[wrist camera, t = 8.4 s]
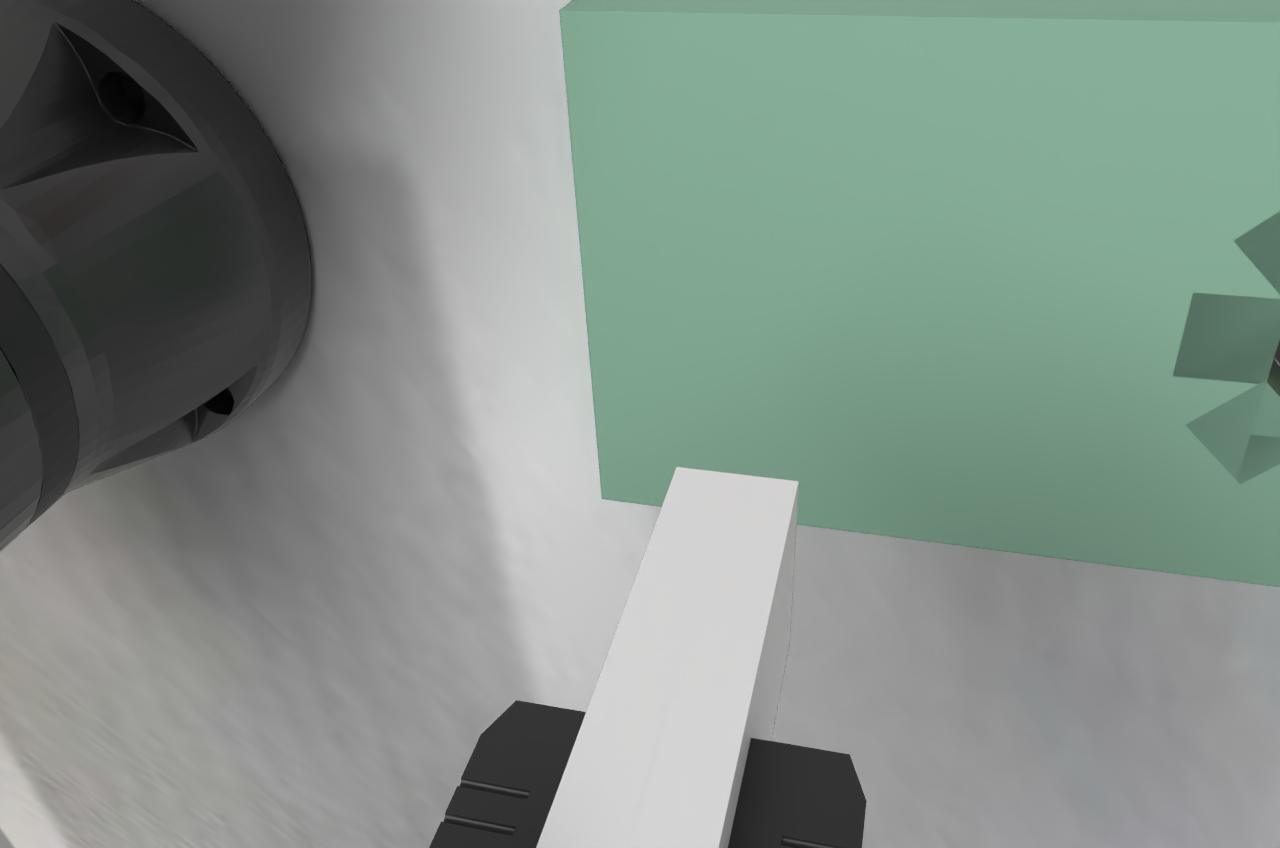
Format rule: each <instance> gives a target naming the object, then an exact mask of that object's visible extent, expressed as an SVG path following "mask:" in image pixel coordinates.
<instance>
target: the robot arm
mask: <svg viewBox="0 0 1280 848" xmlns="http://www.w3.org/2000/svg"><path fill="white" fill-rule="evenodd" d="M311 286H312V276H311V260H310V252H309V245H308V240H307V235H306V230H305V226H304V222H303V219H302V215H301V211H300V208H299V205H298V202H297V199H296V196H295V194H294V191H293V189H292V186H291V184H290V181H289V179H288V176H287V174H286V172H285V170H284V168H283V166H282V164H281V161H280V159H279V157H278V155H277V154H276V152H275V150H274V148H273V146H272V145H271V143H270V141H269V139H268V137H267V136H266V134H265V133H264V131H263V129H262V128H261V126H260V125H259V123H258V121H257V120H256V118H255V117H254V116H253V114H252V113H251V111H250V110H249V108H248V107H247V106H246V104H245V103H244V102H243V100H242V99H241V98H240V96H239V95H238V94H237V93H236V91H235V90H234V89H233V88H232V86H231V85H230V84H229V83H228V82H227V81H226V79H225V78H224V77H223V76H222V75H221V74H220V73H219V71H218V70H217V69H216V68H215V67H214V66H213V65H212V64H211V63H210V62H209V61H208V60H207V59H206V58H205V57H204V56H203V55H202V54H201V53H200V52H199V51H198V50H197V49H196V48H195V47H194V46H193V45H191V44H190V43H189V42H188V41H187V40H186V39H185V38H184V37H182V36H181V35H180V34H179V33H178V32H176V31H175V30H174V29H173V28H172V27H170V26H169V25H168V24H166V23H165V22H164V21H162V20H161V19H160V18H158V17H157V16H156V15H154V14H153V13H151V12H150V11H148V10H147V9H145V8H144V7H142V6H141V5H139V4H138V3H136V2H134V1H133V0H0V552H1V551H2V550H3V549H4V548H5V547H6V546H7V545H8V544H10V543H11V542H12V541H13V540H14V539H15V538H16V537H17V536H18V535H19V534H20V533H21V532H22V531H23V530H24V529H26V528H27V527H28V526H29V525H30V524H31V523H32V522H34V521H35V520H36V519H37V518H38V517H39V516H40V515H42V514H43V513H44V512H45V511H46V510H47V509H48V508H50V507H51V506H52V505H53V504H54V503H55V502H56V501H57V500H59V499H60V498H61V497H62V496H64V495H65V494H66V493H68V492H70V491H72V490H74V489H77V488H79V487H82V486H84V485H87V484H90V483H92V482H95V481H97V480H100V479H102V478H105V477H107V476H110V475H112V474H115V473H117V472H120V471H122V470H125V469H127V468H130V467H133V466H135V465H138V464H140V463H143V462H145V461H148V460H150V459H153V458H155V457H158V456H160V455H163V454H165V453H168V452H170V451H173V450H176V449H178V448H181V447H183V446H186V445H188V444H191V443H193V442H196V441H198V440H200V439H203V438H205V437H207V436H209V435H211V434H213V433H215V432H216V431H218V430H220V429H221V428H223V427H224V426H226V425H227V424H229V423H230V422H232V421H233V420H234V419H236V418H237V417H238V416H239V415H241V414H242V413H243V412H244V411H245V410H246V409H247V408H248V407H249V406H250V405H251V404H252V403H253V402H254V401H255V400H256V399H257V398H258V397H259V396H260V395H261V394H262V393H263V392H264V391H265V390H267V389H268V388H269V387H270V386H271V385H272V384H273V383H274V382H275V381H276V380H277V379H278V377H279V376H280V375H281V374H282V373H283V372H284V371H285V369H286V368H287V366H288V365H289V363H290V362H291V360H292V359H293V357H294V355H295V353H296V351H297V349H298V347H299V345H300V342H301V340H302V337H303V334H304V331H305V328H306V324H307V320H308V315H309V310H310V302H311ZM798 482H799V481H792V480H783V479H775V478H766V477H758V476H749V475H741V474H733V473H724V472H716V471H707V470H699V469H690V468H682V467H676V470H675V473H674V475H673V478H672V481H671V484H670V486H669V489H668V492H667V494H666V497H665V500H664V503H663V505H662V508H661V511H660V513H659V516H658V519H657V521H656V524H655V527H654V530H653V532H652V535H651V538H650V540H649V543H648V546H647V549H646V551H645V554H644V557H643V559H642V562H641V565H640V568H639V570H638V573H637V576H636V578H635V581H634V584H633V587H632V589H631V592H630V595H629V597H628V600H627V603H626V606H625V608H624V611H623V614H622V616H621V619H620V622H619V625H618V627H617V630H616V633H615V635H614V638H613V641H612V643H611V646H610V649H609V652H608V654H607V657H606V660H605V662H604V665H603V668H602V671H601V673H600V676H599V679H598V681H597V684H596V687H595V690H594V692H593V695H592V698H591V700H590V703H589V706H588V709H587V711H586V712H581V711H575V710H569V709H564V708H558V707H552V706H546V705H540V704H534V703H529V702H523V701H517V700H516V701H515V702H514V703H513V704H512V705H511V706H510V707H509V708H508V709H507V710H506V711H505V712H504V713H503V714H502V715H501V716H500V717H499V718H498V719H497V720H496V721H495V722H494V723H493V724H492V725H491V726H490V727H489V728H487V729H486V730H485V731H484V732H483V733H482V734H481V736H480V738H479V740H478V742H477V745H476V747H475V749H474V751H473V753H472V756H471V758H470V760H469V762H468V764H467V766H466V769H465V771H464V773H463V775H462V777H461V784H460V786H457V788H456V791H455V793H454V795H453V797H452V799H451V802H450V804H449V806H448V808H447V810H446V812H445V819H444V822H441V823H440V826H439V828H438V830H437V832H436V834H435V837H434V839H433V841H432V843H431V845H430V847H429V848H862V839H863V829H864V819H865V809H866V799H865V796H864V793H863V791H862V788H861V785H860V782H859V780H858V777H857V774H856V771H855V768H854V766H853V763H852V760H851V757H850V755H849V754H843V753H837V752H831V751H826V750H820V749H814V748H808V747H802V746H796V745H790V744H784V743H779V742H773V741H771V740H772V734H773V729H774V724H775V719H776V713H777V708H778V703H779V698H780V693H781V687H782V682H783V677H784V672H785V667H786V661H787V656H788V651H789V646H790V633H791V614H792V595H793V576H794V557H795V538H796V519H797V501H798Z"/></svg>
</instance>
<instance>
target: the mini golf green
mask: <svg viewBox="0 0 1280 848" xmlns="http://www.w3.org/2000/svg"><path fill="white" fill-rule="evenodd" d="M560 22H561V34H562V45H563V57H564V68H565V80H566V91H567V103H568V114H569V126H570V137H571V149H572V160H573V172H574V183H575V195H576V206H577V218H578V229H579V240H580V252H581V263H582V275H583V286H584V298H585V309H586V321H587V332H588V344H589V355H590V367H591V378H592V390H593V401H594V413H595V424H596V436H597V447H598V459H599V470H600V482H601V493H602V499H606V500H613V501H621V502H629V503H637V504H644V505H652V506H660V507H662V505H663V503H664V500H665V497H666V494H667V492H668V489H669V486H670V484H671V481H672V478H673V475H674V473H675V470H676V467H682V468H690V469H699V470H707V471H716V472H724V473H733V474H741V475H749V476H758V477H766V478H775V479H783V480H792V481H799V482H798V501H797V519H796V524H798V525H806V526H813V527H821V528H829V529H837V530H844V531H852V532H860V533H867V534H875V535H883V536H890V537H898V538H906V539H914V540H921V541H929V542H937V543H944V544H952V545H960V546H967V547H975V548H983V549H990V550H998V551H1006V552H1014V553H1021V554H1029V555H1037V556H1044V557H1052V558H1060V559H1067V560H1075V561H1083V562H1090V563H1098V564H1106V565H1114V566H1121V567H1129V568H1137V569H1144V570H1152V571H1160V572H1167V573H1175V574H1183V575H1191V576H1198V577H1206V578H1214V579H1221V580H1229V581H1237V582H1244V583H1252V584H1260V585H1267V586H1275V587H1280V366H1279V365H1278V364H1277V363H1276V362H1275V361H1274V356H1275V357H1276V358H1277V359H1278V361H1279V362H1280V0H572V1H571V2H570V3H568V4H567V5H566V6H565V7H563V8H562V9H561V10H560Z"/></svg>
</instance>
